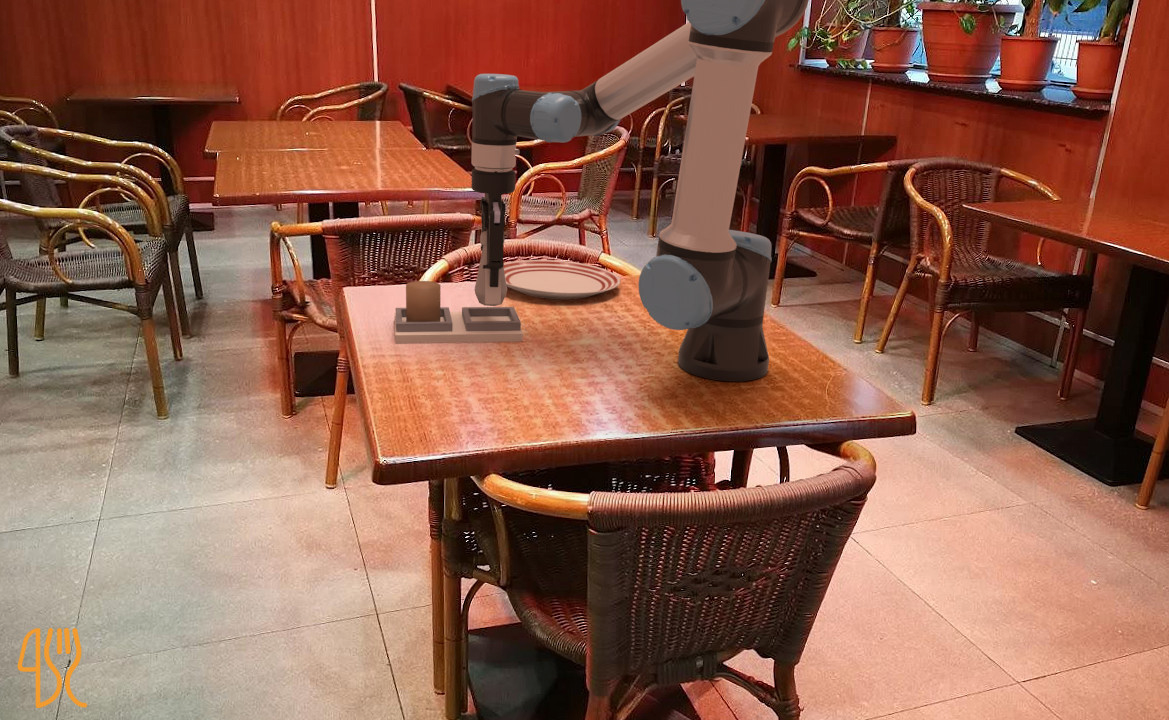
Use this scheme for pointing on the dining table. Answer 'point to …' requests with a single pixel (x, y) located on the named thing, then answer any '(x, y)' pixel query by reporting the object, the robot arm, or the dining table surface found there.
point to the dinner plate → (558, 279)
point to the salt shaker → (481, 275)
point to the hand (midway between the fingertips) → (490, 298)
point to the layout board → (451, 320)
